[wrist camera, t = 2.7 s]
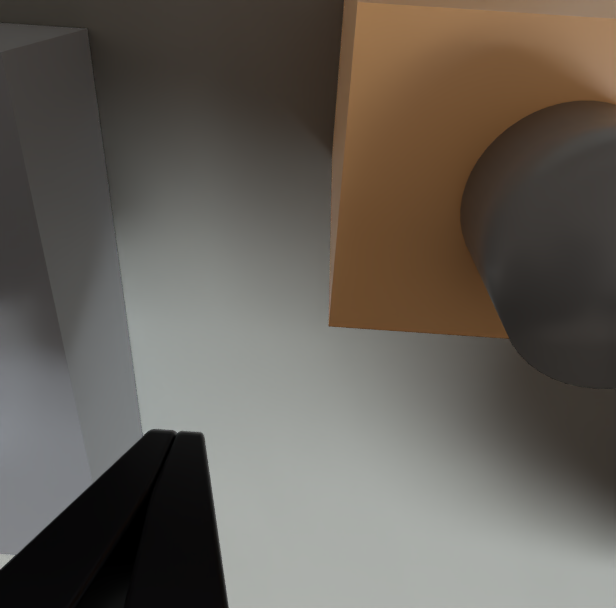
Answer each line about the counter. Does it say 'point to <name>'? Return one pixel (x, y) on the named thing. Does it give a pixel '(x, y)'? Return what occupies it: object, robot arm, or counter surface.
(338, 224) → the plug
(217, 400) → the counter surface
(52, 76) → the socket
